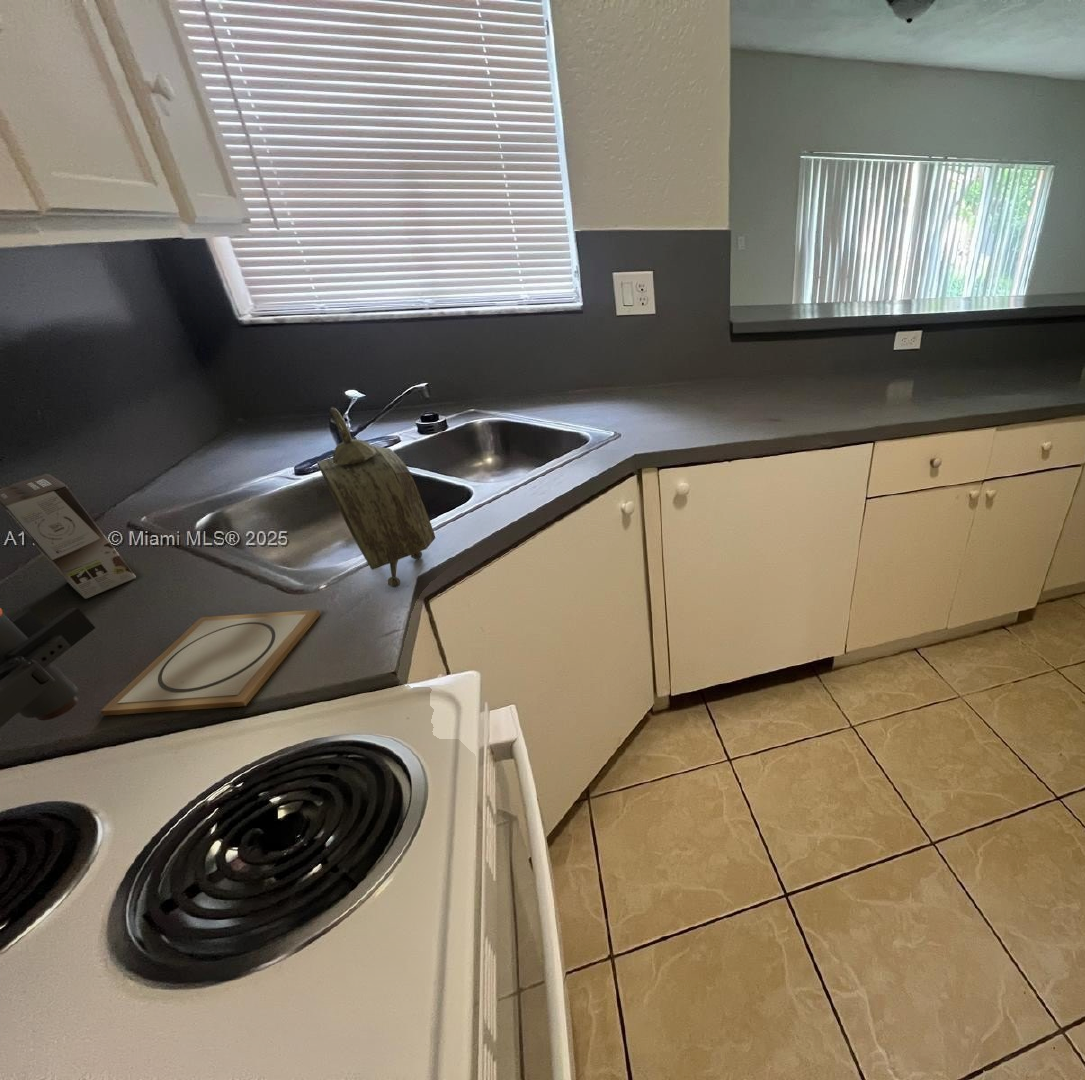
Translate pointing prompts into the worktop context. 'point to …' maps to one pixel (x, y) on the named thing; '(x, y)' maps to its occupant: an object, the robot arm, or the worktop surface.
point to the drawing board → (215, 663)
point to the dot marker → (62, 692)
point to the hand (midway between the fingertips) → (59, 620)
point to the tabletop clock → (377, 501)
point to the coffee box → (65, 534)
